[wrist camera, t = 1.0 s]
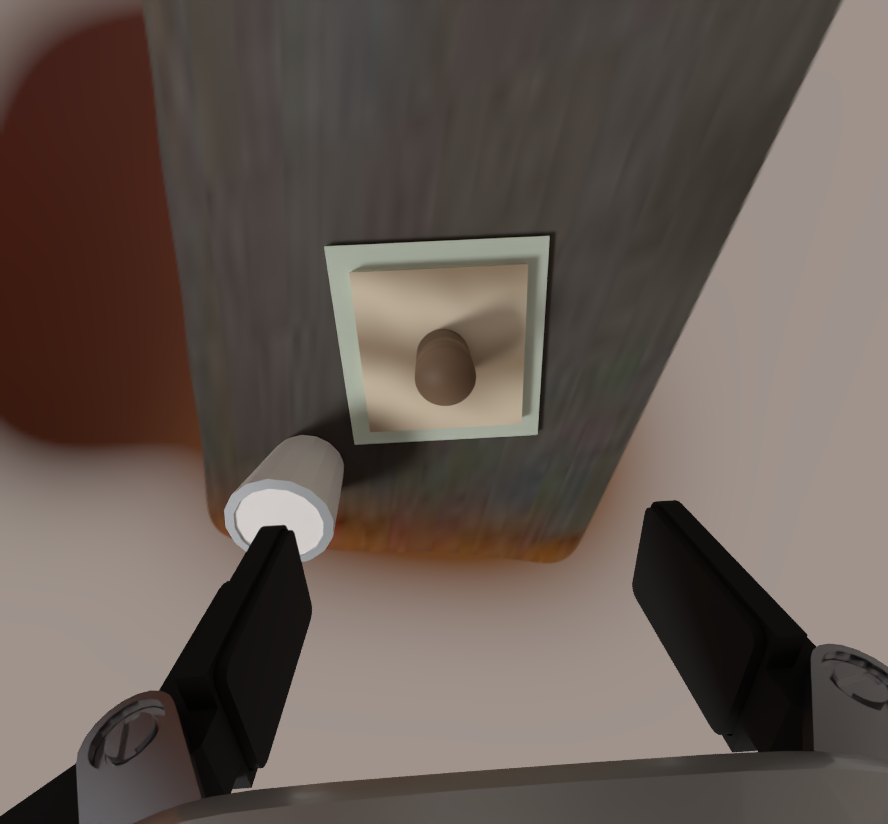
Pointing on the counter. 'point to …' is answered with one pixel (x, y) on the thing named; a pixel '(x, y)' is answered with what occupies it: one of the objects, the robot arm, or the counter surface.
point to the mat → (439, 256)
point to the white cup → (290, 495)
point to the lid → (442, 345)
